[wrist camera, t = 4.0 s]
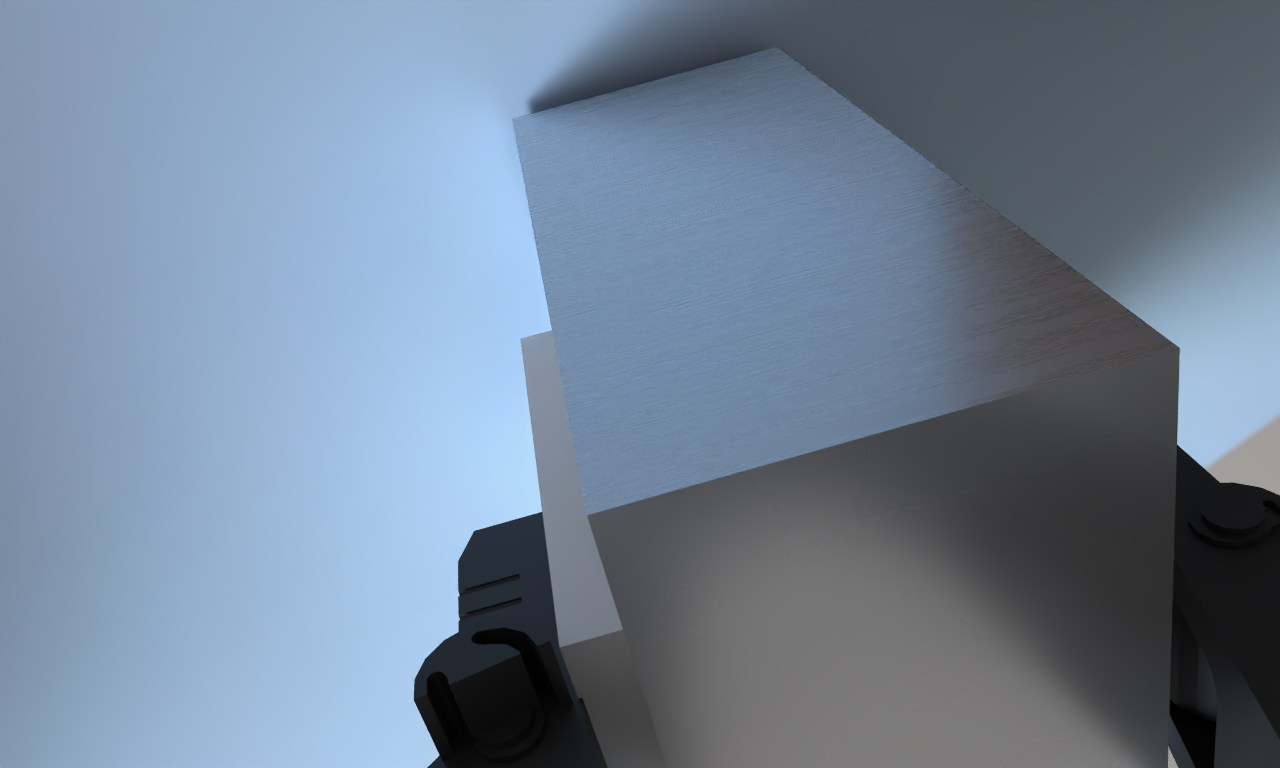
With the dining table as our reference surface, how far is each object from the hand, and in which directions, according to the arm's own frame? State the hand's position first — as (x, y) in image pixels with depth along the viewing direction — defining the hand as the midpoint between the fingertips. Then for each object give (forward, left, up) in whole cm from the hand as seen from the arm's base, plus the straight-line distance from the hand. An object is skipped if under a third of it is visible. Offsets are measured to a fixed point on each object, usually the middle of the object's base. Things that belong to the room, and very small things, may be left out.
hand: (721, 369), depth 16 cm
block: (0, 0, -2) cm, 2 cm away
